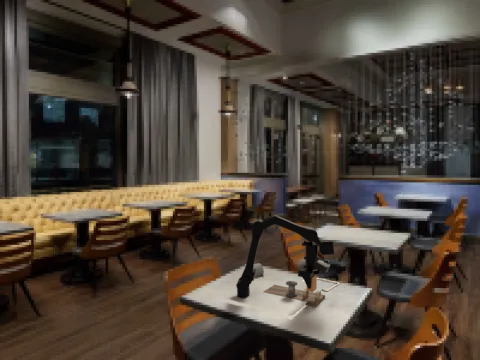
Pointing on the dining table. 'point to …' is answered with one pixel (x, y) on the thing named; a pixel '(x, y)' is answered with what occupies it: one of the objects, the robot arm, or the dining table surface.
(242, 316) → the dining table surface
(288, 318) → the dining table surface
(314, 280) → the orange brown block
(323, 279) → the photo frame
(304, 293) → the winding board
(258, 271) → the ceramic mug
